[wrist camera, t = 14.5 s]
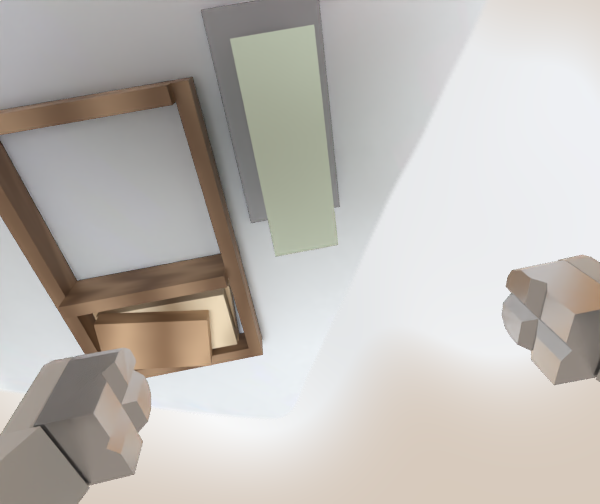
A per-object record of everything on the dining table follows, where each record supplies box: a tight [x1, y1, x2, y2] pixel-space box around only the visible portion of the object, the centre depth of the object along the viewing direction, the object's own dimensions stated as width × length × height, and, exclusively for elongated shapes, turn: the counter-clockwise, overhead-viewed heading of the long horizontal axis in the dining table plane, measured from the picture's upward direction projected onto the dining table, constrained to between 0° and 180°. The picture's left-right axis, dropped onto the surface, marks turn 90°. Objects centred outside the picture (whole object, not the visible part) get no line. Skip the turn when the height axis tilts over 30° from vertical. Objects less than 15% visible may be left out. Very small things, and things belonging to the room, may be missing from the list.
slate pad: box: [201, 0, 340, 223], centre depth 29 cm, size 8×16×1 cm, turn 9°
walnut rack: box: [0, 77, 263, 378], centre depth 32 cm, size 16×26×4 cm, turn 8°
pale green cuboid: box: [230, 25, 338, 257], centre depth 25 cm, size 4×12×10 cm, turn 9°
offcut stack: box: [93, 280, 239, 370], centre depth 36 cm, size 13×7×4 cm, turn 93°
